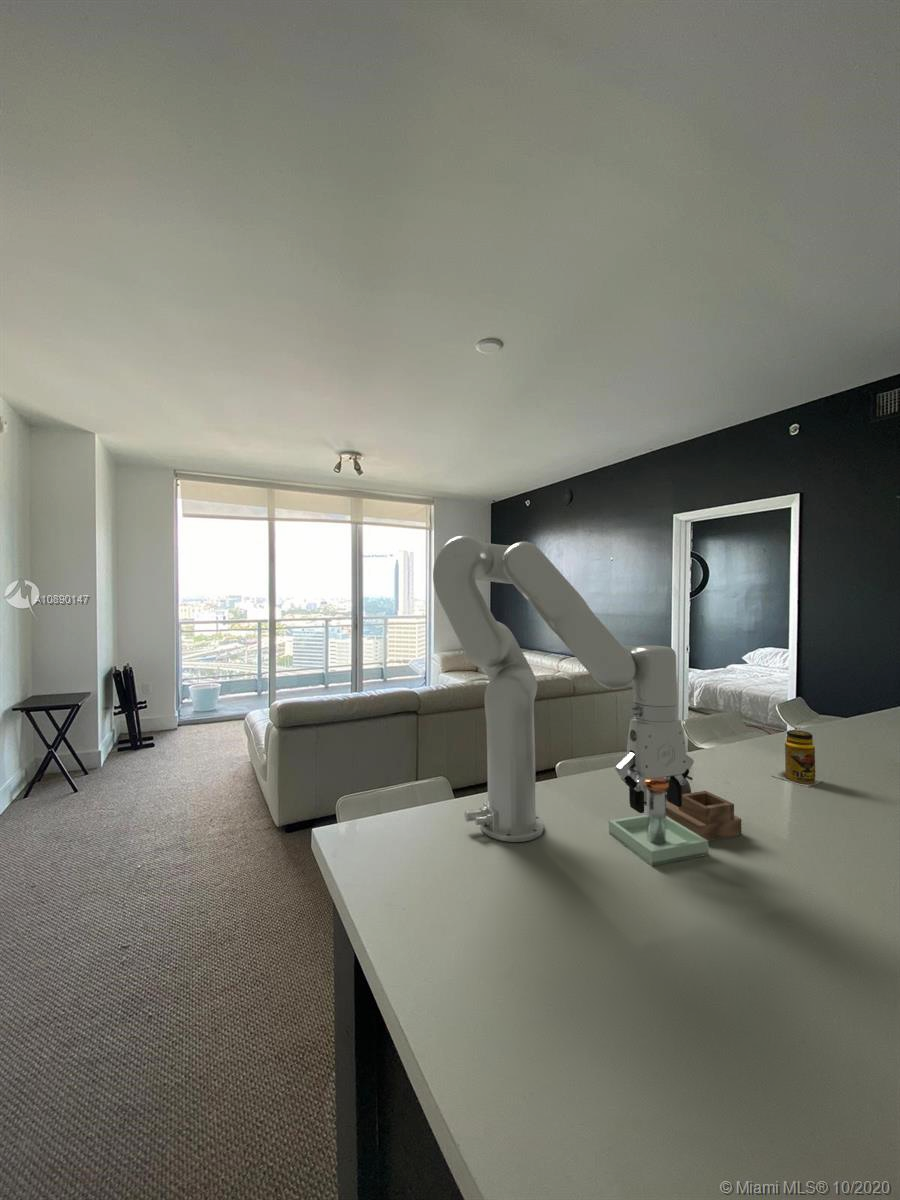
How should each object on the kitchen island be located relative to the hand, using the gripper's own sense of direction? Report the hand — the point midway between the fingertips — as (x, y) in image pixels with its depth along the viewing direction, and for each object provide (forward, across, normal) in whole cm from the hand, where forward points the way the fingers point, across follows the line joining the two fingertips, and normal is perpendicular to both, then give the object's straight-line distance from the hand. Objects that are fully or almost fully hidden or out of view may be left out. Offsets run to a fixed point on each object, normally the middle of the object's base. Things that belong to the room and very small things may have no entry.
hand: (655, 806), depth 88 cm
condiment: (+7, +56, +16) cm, 59 cm away
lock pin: (+6, 0, 0) cm, 6 cm away
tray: (+7, 0, 0) cm, 7 cm away
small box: (+7, +13, +19) cm, 24 cm away
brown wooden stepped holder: (+7, +13, +5) cm, 16 cm away
